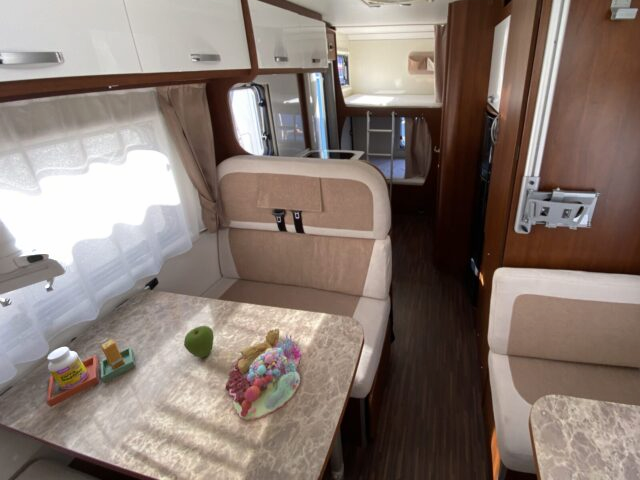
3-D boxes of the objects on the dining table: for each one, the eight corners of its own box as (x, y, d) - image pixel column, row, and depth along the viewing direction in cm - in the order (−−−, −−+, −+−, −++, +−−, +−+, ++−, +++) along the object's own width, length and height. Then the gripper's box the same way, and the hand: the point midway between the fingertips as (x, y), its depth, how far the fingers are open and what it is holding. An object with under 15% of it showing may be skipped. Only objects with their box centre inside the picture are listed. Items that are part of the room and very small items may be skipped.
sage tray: (104, 382, 98) (101, 377, 97) (103, 366, 104) (100, 361, 103) (135, 366, 103) (132, 361, 102) (133, 351, 109) (130, 346, 108)
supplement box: (126, 363, 104) (115, 342, 100) (114, 371, 101) (102, 350, 97) (122, 359, 106) (111, 338, 102) (110, 366, 103) (98, 345, 99)
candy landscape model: (216, 375, 99) (209, 356, 95) (282, 332, 114) (278, 314, 110) (248, 435, 82) (240, 413, 79) (320, 375, 98) (316, 355, 94)
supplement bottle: (65, 394, 95) (45, 366, 90) (58, 384, 98) (39, 356, 93) (92, 377, 100) (75, 349, 95) (85, 367, 103) (68, 340, 98)
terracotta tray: (50, 407, 92) (46, 401, 91) (53, 381, 99) (50, 376, 98) (99, 382, 99) (95, 376, 98) (98, 360, 106) (95, 355, 105)
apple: (218, 340, 112) (210, 317, 108) (218, 358, 105) (209, 334, 100) (192, 350, 109) (182, 326, 104) (189, 369, 102) (179, 344, 97)
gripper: (-53, 282, 82) (-24, 320, 87) (53, 251, 94) (73, 287, 99) (-45, 271, 86) (-19, 309, 91) (55, 244, 99) (73, 278, 104)
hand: (30, 297), depth 95 cm, fingers open, 8 cm apart
